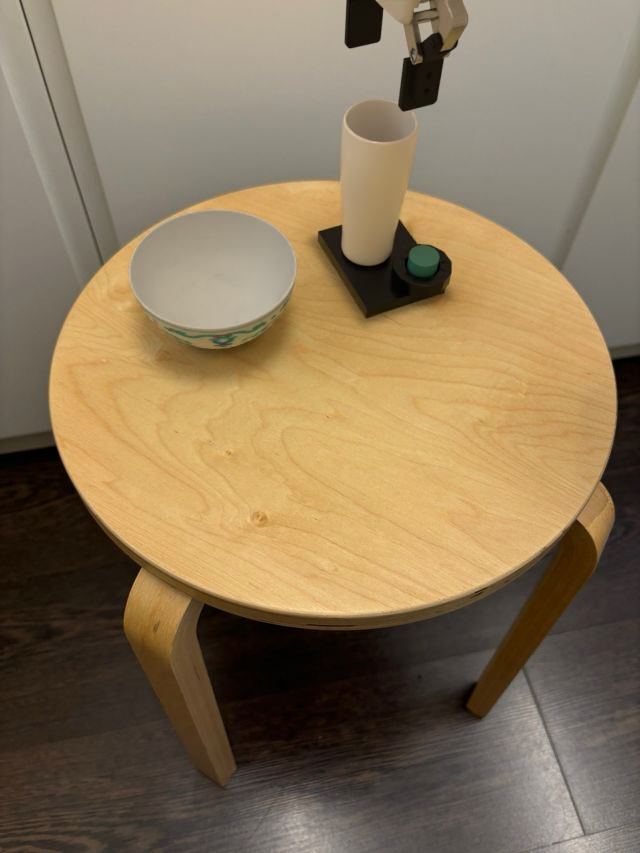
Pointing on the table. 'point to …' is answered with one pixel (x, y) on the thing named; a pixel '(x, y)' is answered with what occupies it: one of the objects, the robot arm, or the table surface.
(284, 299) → the chinaware
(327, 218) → the table surface
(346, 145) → the white tall cup
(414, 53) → the robot arm
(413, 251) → the tare button
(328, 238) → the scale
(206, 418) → the table surface
